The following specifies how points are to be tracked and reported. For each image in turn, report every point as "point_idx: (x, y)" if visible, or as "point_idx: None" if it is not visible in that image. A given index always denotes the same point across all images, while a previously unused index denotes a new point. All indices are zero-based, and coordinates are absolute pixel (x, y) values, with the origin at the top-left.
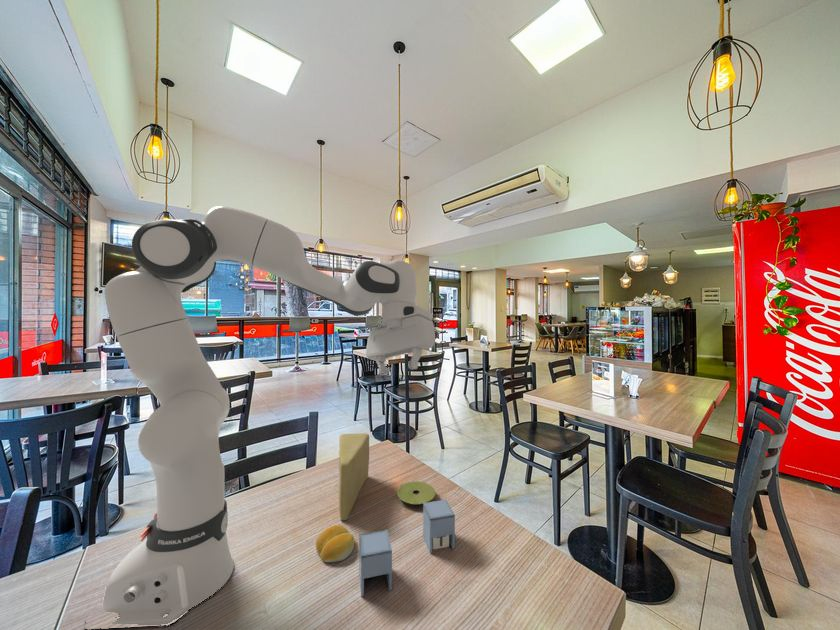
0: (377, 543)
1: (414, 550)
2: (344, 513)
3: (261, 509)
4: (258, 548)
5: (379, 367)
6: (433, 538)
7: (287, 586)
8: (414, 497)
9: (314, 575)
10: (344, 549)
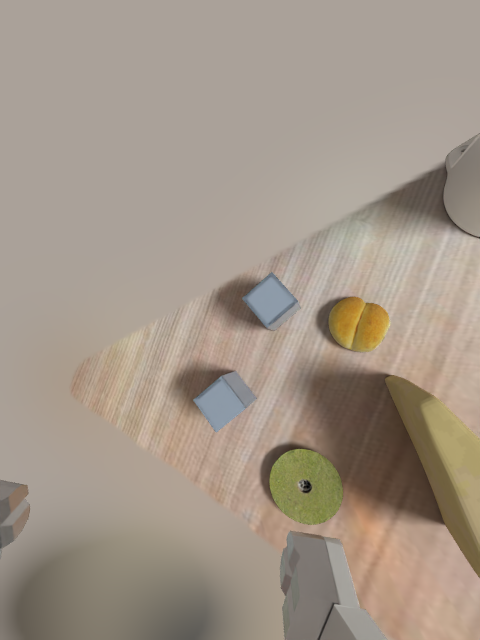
0: (265, 299)
1: (255, 367)
2: (389, 378)
3: None
4: (469, 271)
5: (355, 603)
6: None
7: (367, 251)
8: (300, 468)
9: (348, 278)
10: (332, 313)
